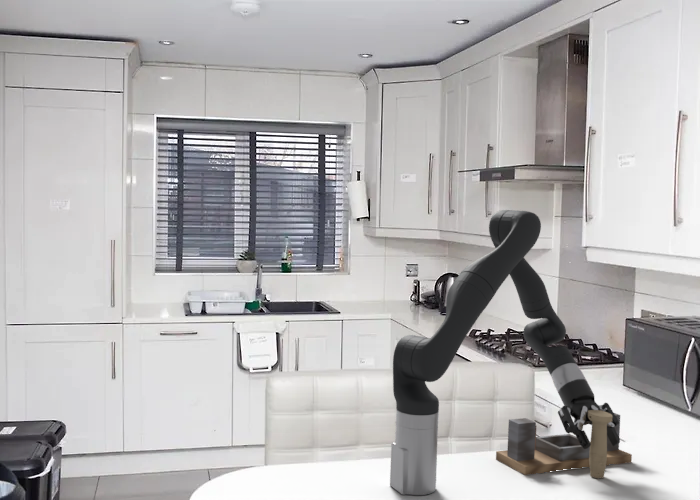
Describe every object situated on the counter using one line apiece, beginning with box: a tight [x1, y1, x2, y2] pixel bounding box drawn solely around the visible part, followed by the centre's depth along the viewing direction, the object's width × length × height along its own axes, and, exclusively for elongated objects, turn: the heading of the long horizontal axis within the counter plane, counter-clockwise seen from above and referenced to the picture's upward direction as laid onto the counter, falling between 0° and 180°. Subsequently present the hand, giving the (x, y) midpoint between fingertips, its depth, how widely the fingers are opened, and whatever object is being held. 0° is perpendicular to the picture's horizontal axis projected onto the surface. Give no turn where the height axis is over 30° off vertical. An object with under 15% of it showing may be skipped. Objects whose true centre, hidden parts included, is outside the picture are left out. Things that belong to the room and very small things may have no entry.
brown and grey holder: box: [495, 412, 633, 476], centre depth 184 cm, size 32×12×11 cm, turn 112°
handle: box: [588, 410, 613, 479], centre depth 173 cm, size 5×6×15 cm
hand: (602, 445), depth 172 cm, fingers open, 8 cm apart
